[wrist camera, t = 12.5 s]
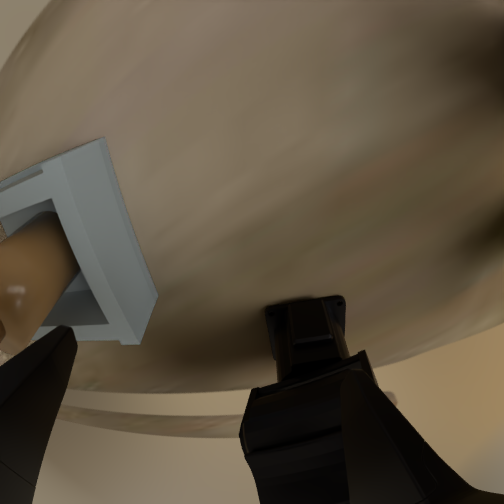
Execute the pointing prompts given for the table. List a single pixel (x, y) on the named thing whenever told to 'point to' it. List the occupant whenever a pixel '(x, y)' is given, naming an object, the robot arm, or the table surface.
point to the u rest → (87, 243)
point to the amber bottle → (32, 278)
